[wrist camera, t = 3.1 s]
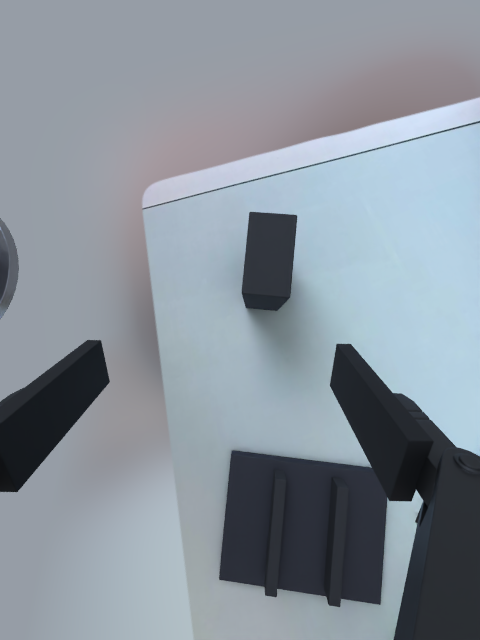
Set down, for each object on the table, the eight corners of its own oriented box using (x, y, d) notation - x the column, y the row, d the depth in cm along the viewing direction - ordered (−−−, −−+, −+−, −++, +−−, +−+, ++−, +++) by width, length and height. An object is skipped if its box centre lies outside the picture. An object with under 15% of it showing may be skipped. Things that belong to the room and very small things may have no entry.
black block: (245, 307, 32) (241, 293, 21) (251, 253, 32) (249, 211, 21) (277, 310, 32) (290, 297, 21) (282, 255, 32) (297, 214, 21)
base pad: (220, 570, 30) (216, 598, 27) (231, 450, 31) (229, 463, 28) (375, 594, 29) (390, 625, 26) (383, 469, 30) (399, 484, 27)
